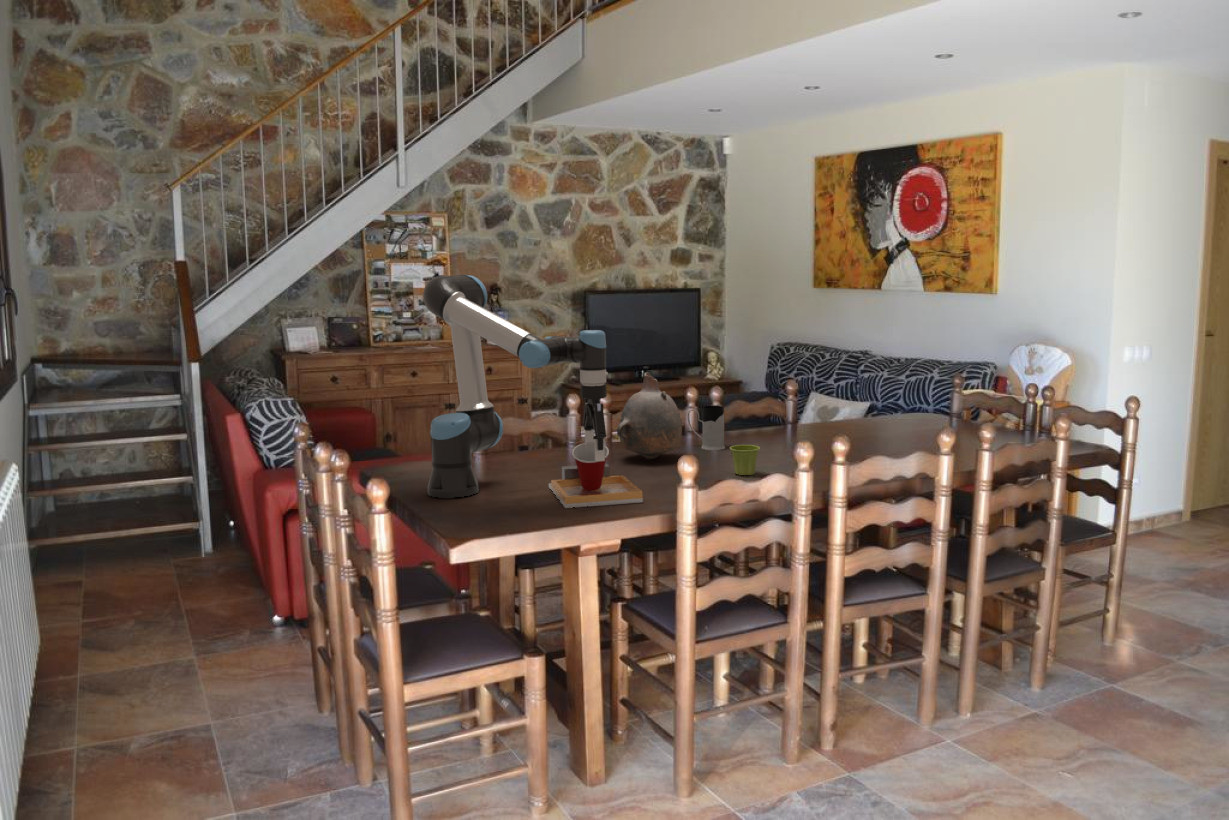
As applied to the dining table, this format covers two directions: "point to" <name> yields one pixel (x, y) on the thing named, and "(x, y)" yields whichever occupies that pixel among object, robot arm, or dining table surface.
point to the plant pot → (744, 458)
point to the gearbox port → (607, 494)
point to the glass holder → (711, 427)
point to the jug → (650, 421)
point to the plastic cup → (589, 465)
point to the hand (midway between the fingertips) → (594, 456)
